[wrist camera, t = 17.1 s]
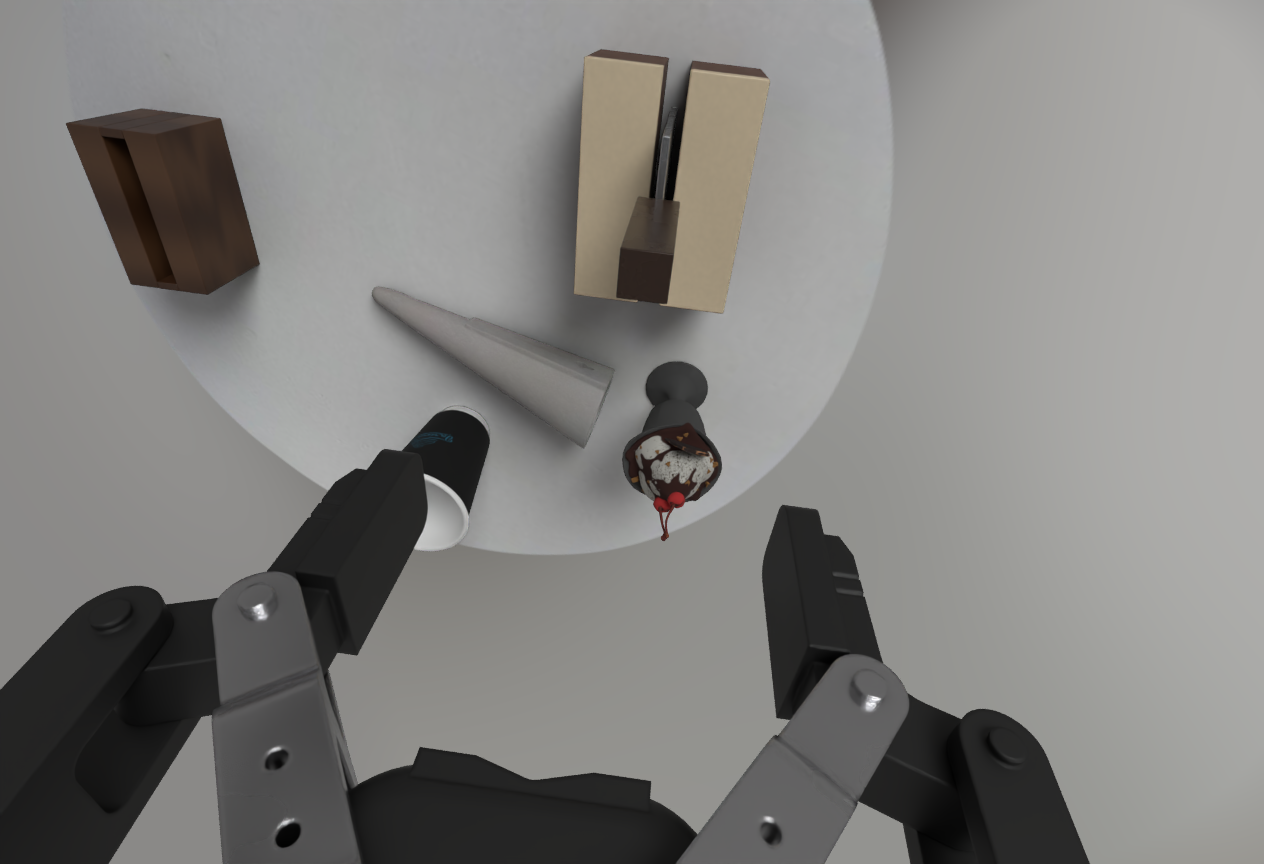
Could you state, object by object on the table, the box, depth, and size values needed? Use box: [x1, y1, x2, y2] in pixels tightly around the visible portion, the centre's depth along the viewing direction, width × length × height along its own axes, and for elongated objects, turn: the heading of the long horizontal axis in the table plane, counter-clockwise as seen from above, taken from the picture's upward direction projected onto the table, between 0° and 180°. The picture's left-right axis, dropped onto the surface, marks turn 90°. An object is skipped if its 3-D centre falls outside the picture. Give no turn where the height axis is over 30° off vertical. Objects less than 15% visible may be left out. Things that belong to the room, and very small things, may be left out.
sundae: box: [622, 362, 722, 541], centre depth 43 cm, size 7×7×15 cm
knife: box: [616, 107, 680, 304], centre depth 32 cm, size 8×2×18 cm, turn 174°
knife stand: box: [66, 109, 260, 295], centre depth 41 cm, size 10×5×6 cm, turn 174°
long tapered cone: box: [372, 287, 615, 448], centre depth 47 cm, size 6×6×19 cm
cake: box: [574, 49, 770, 313], centre depth 37 cm, size 13×10×6 cm
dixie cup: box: [402, 406, 490, 551], centre depth 49 cm, size 8×8×11 cm
